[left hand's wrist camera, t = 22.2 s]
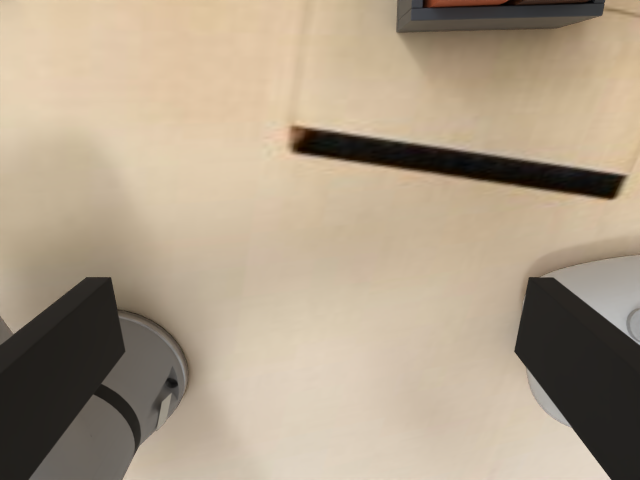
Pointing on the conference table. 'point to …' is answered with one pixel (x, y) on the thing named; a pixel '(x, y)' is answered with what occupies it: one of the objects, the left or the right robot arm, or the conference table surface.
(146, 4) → the conference table surface
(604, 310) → the projector
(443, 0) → the terracotta block
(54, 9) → the conference table surface
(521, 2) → the walnut block
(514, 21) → the box
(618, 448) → the left robot arm
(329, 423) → the conference table surface
